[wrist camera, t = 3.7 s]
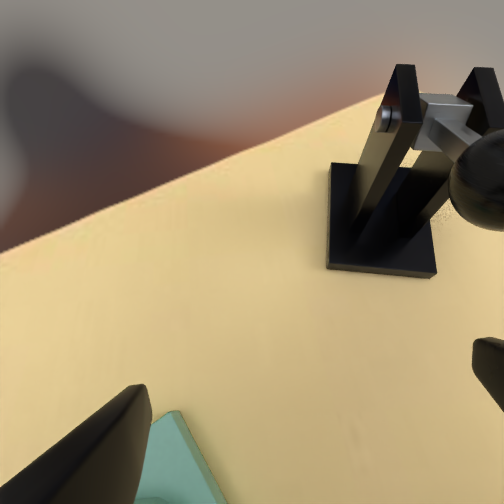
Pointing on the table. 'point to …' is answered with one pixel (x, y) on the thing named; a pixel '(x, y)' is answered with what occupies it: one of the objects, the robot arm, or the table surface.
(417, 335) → the table surface
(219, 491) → the control block
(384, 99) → the lever bracket
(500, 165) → the ball knob lever
